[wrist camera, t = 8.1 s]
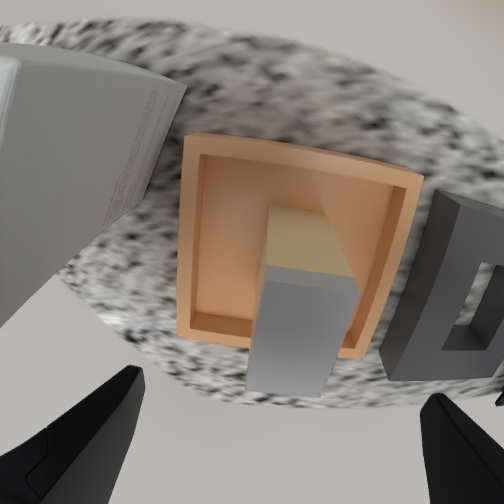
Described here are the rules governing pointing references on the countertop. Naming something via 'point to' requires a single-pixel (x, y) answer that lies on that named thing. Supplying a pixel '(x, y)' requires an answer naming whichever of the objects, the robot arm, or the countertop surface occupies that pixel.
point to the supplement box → (70, 155)
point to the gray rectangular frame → (450, 297)
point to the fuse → (299, 304)
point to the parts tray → (254, 223)
